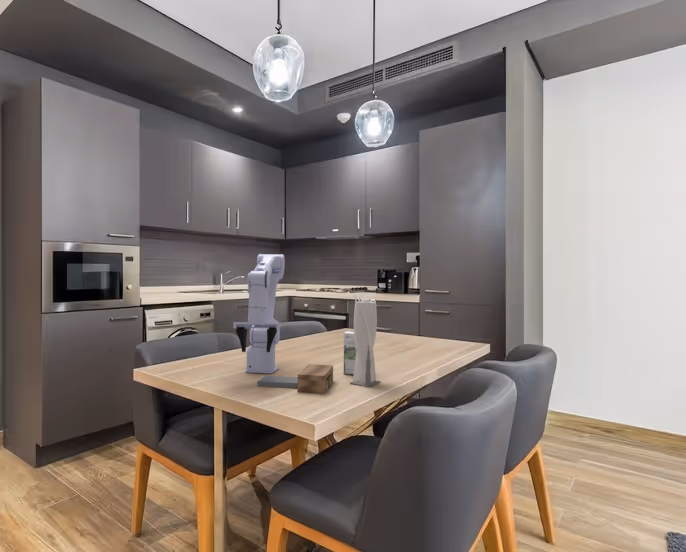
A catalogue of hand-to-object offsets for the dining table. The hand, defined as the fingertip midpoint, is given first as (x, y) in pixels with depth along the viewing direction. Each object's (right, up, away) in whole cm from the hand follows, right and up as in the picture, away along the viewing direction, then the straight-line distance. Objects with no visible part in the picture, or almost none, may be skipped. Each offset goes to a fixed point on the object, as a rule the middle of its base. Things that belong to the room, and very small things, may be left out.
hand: (256, 352), depth 127 cm
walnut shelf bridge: (+19, -10, -2) cm, 21 cm away
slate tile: (+8, -10, -1) cm, 13 cm away
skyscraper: (+34, -10, +2) cm, 35 cm away
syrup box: (+31, -10, +14) cm, 35 cm away
